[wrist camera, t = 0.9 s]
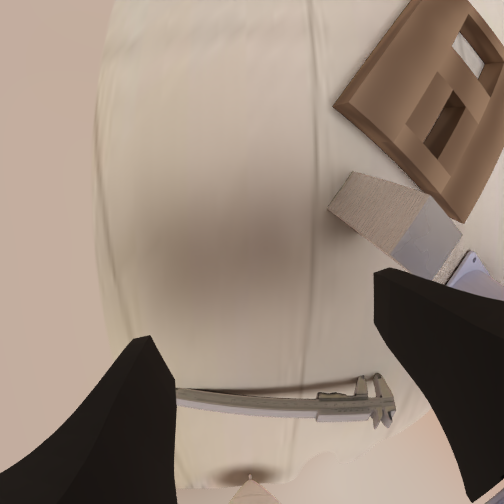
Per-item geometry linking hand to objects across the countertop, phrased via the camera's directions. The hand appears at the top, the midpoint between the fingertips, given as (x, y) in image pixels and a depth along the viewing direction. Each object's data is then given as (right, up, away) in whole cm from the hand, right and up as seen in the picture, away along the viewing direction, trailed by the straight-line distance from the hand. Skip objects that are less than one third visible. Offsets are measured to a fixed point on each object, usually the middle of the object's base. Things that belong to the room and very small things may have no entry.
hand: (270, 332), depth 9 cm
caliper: (+1, -9, +15) cm, 18 cm away
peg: (+6, +6, +10) cm, 13 cm away
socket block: (+14, +15, +7) cm, 21 cm away
